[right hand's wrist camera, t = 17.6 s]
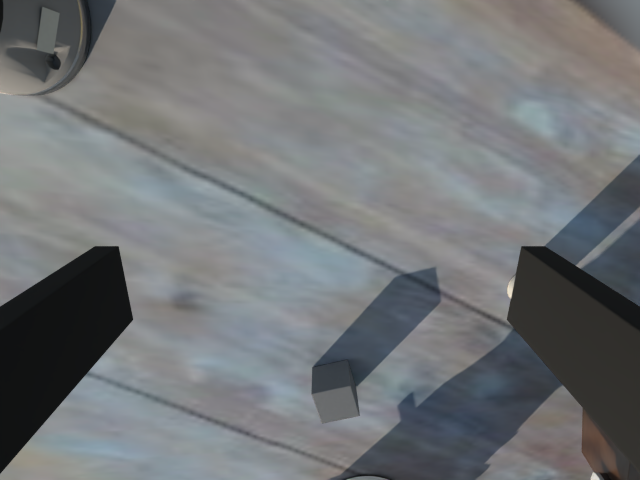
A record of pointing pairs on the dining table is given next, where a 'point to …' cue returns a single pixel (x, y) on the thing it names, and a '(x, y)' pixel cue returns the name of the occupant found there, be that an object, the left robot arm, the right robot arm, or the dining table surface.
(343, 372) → the grey rubber block
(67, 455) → the dining table surface
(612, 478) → the walnut plank
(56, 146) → the dining table surface
